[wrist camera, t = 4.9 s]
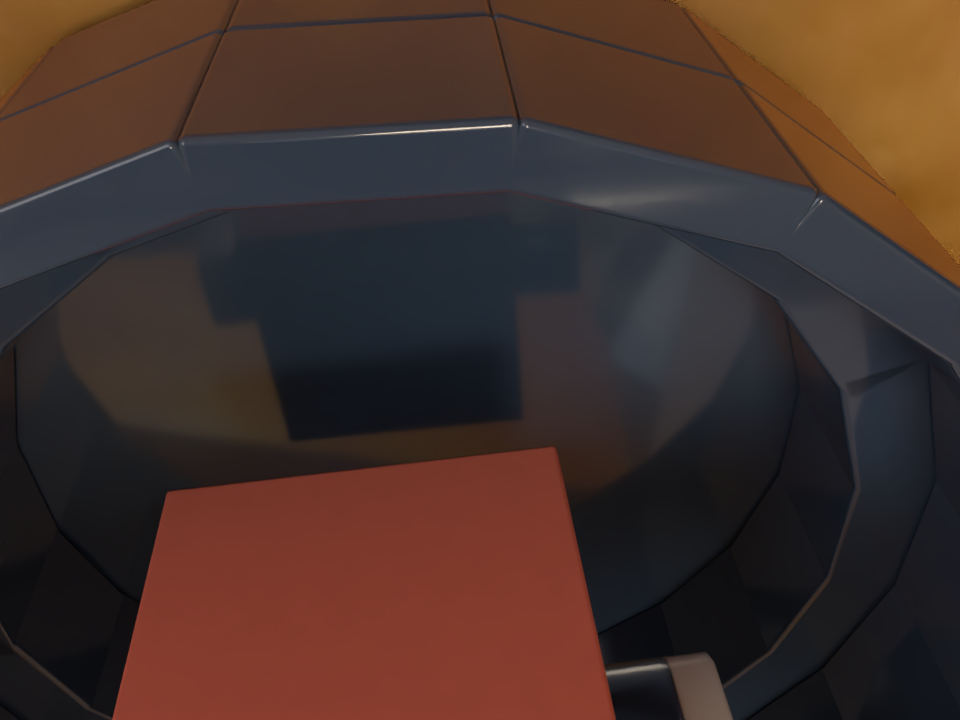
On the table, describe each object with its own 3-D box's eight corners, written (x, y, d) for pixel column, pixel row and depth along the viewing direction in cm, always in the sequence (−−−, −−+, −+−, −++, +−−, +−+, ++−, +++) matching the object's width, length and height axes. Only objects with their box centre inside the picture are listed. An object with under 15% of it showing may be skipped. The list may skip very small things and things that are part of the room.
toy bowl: (-61, 657, 18) (-189, 949, 14) (-164, -252, 9) (-603, -158, 5) (661, 724, 21) (721, 972, 17) (1106, 116, 12) (1437, 342, 8)
